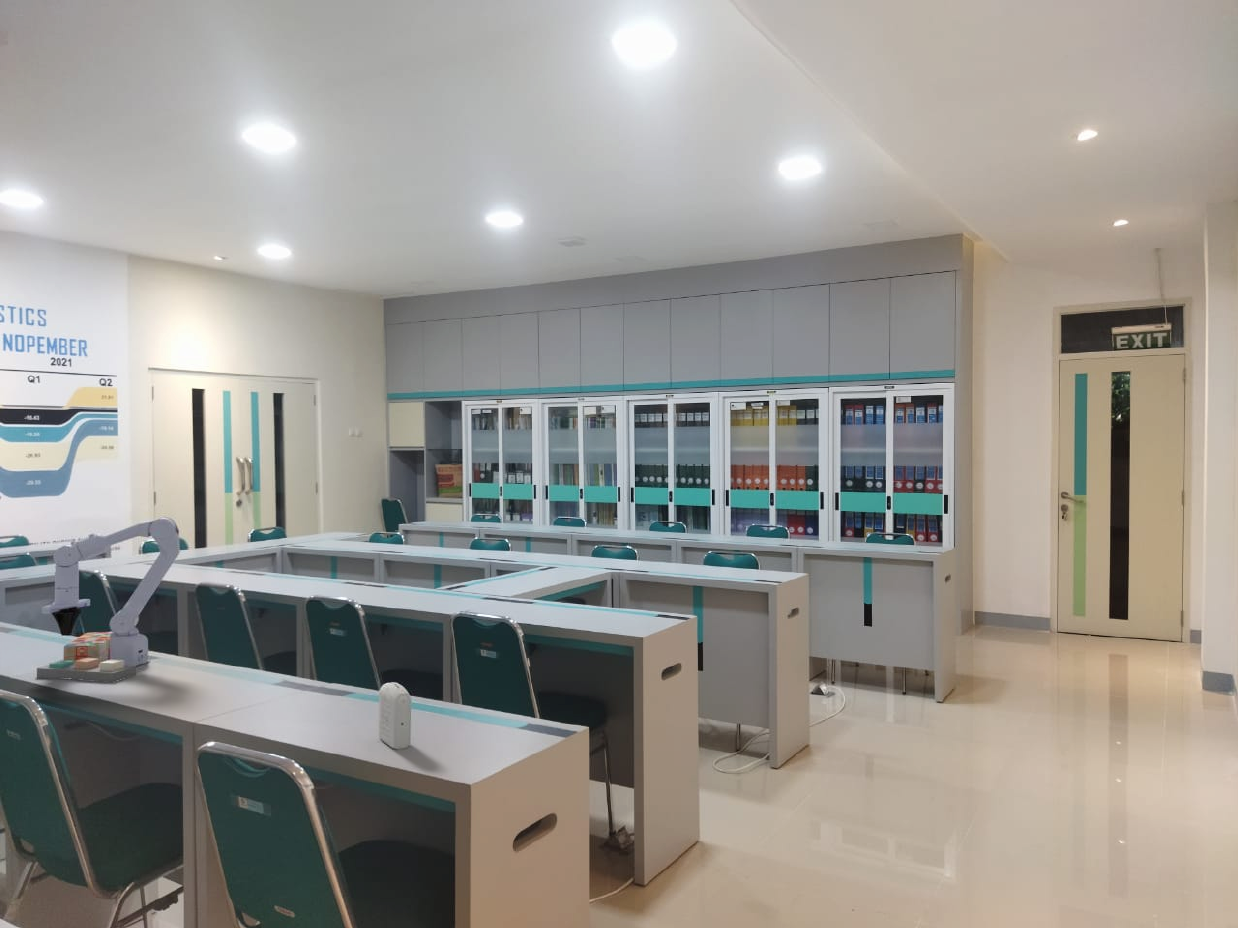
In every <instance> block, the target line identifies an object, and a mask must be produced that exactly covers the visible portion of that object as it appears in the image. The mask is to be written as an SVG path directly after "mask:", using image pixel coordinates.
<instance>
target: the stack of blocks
mask: <svg viewBox="0 0 1238 928" xmlns="http://www.w3.org/2000/svg"><path fill="white" fill-rule="evenodd" d="M110 632H113V631H112V630H111V631H102V632H99V631H96V632H95V631H94V632H86V633H83V634H82V635H80V636H79V637H77V638H76V639H74V640H73V641H71V642H68V643H67V644H66V645H64V646H63V660H67V661H74V662H75V661H77V660H80V659H84V658H97V659H99V664H100V662H104V661H107V660H110Z"/></svg>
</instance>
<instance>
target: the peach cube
mask: <svg viewBox="0 0 1238 928" xmlns="http://www.w3.org/2000/svg"><path fill="white" fill-rule="evenodd" d="M98 666H99V659H97V658H84V659H80V660H77V661H75V666H74V669H91V668H94V667H98Z"/></svg>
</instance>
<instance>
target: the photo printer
mask: <svg viewBox="0 0 1238 928" xmlns="http://www.w3.org/2000/svg"><path fill="white" fill-rule="evenodd" d="M378 696H379V698H378V700H379V701H378V738H379V739H381V741H383V742H384V743H385V744H387V745H388V746H389V747H390V748H392V749H395V750H403V749H407V748H408V747H410V745H411V740H412V739H411V735H412V732H411V731H412V699H411V695H410V693H409V692H408V690H407V689H406V688H405V687H404V686H403V685H401V684H399V683H398V682H387V683H383V684H382V686H381V687H380V689H379V695H378Z"/></svg>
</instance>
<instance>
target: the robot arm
mask: <svg viewBox="0 0 1238 928" xmlns="http://www.w3.org/2000/svg"><path fill="white" fill-rule="evenodd" d="M137 537H143V538H150V537H152V538H153V540H154V541H155V542H156V544H157V547H158V550H159V554H158V556H157V558H156V559H155V560H154V562H153V563H152V564H151V566H150V568H149V569H148V571H147V572H146V574H145V575H144V577H143V578H142V580H141V581H140V583H139V584H138V585H137V587H136V588H135V590H134V591H133V593H132V594H131V596H130V597H129V599H128V601H127V602H126V603H125V604H124V606H123V607H122V609H120V610H119V611H117V612H116V614H115V615H113V616H112V617H111V619H110V621H109V629H110V630H111V631H109V632H110V659H109V660H111V659H114V660H124V665H125V666H136V667H137V666H140V665H143V664H147V663H150V661H151V660H150V659H149V640H148V637H147V636H146V635H144V634H141V633H139V632H140V631H139V629H138V627H136V626H137V624H138V622H139V620H140V614H141V613H142V611H143V609H144V608H145V606H146V605H147V603H148V601H149V600H150V598H152V597H151V596H153V594H154V593H155V591H156V589H157V588H158V586H159V585H160V583H161V582H162V580H163V579H164V578H165V576H166V575H167V573H168V571H169V570H170V568H171V567H172V566H173V564H174V562H175V561H176V559H177V558H178V556H179V554H180V552H181V551H180V548H181V547H180V530H179V528H178V525H177V523H176V521H175V520H173V518H170V517H167V516H165V517H164V516H163V517H160V518H158V519H152V520H148V521H146V520H145V521H143V522H138V523H137V524H136V523H135V524H134V525H131V526H128V527H125V528H124V529H120V530H118V531H115V532H113V533H110V534H108V535H104V534H101V533H97V534H95V533H90V534H89V535H88V537H85V538H83V539H80V540H77V541H75V540H73V541H70V544H67V545H62V546H61V547H58V548H57V549H56V550H55V551H54V554H53V555H52V556H53V557H52V558H53V561H54V563H55V572H54V602H52V604H48V605H44V606H41V614H43V615H49V614H51V615H52V616H53V618H54V619H55V621H56V623H57V625H58V628H59V631H60V635H61V637H62V636H65V637H68V636H72V633H73V630H74V627H75V624H76V622H77V619H78V617H79V615H80V614H81V613H82V609H80V608H83V607H89V606H91V599H89V598H83V599H80V596H79V594H80V592H79V591H80V586H79V585H80V571H79V561H86V560H88V559H91V558H94V557H97V556H100V555H101V554H102V555H103V554H105V553H107V552H108V550H109V549H110V546H112V545H116V544H119V543H122V542H124V541H125V542H126V541H128V540H130V539H134V538H137ZM112 631H113V632H112Z"/></svg>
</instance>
